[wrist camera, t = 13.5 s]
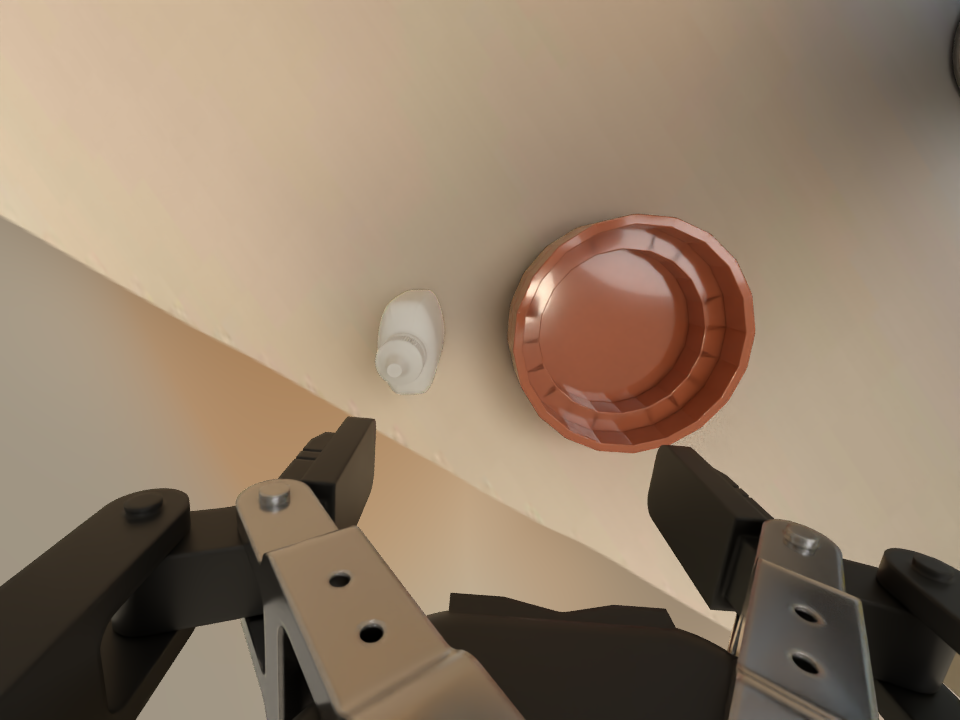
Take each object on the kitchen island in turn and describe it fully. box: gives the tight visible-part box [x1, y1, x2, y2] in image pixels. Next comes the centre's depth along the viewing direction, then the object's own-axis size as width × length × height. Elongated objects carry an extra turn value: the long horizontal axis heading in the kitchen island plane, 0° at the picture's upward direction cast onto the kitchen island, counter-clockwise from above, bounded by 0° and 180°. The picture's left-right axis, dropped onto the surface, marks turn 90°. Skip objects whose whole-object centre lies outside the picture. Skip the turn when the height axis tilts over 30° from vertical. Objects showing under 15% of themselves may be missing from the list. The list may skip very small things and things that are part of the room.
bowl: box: [507, 214, 755, 453], centre depth 30 cm, size 15×15×5 cm
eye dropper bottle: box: [375, 290, 444, 395], centre depth 27 cm, size 4×6×12 cm
